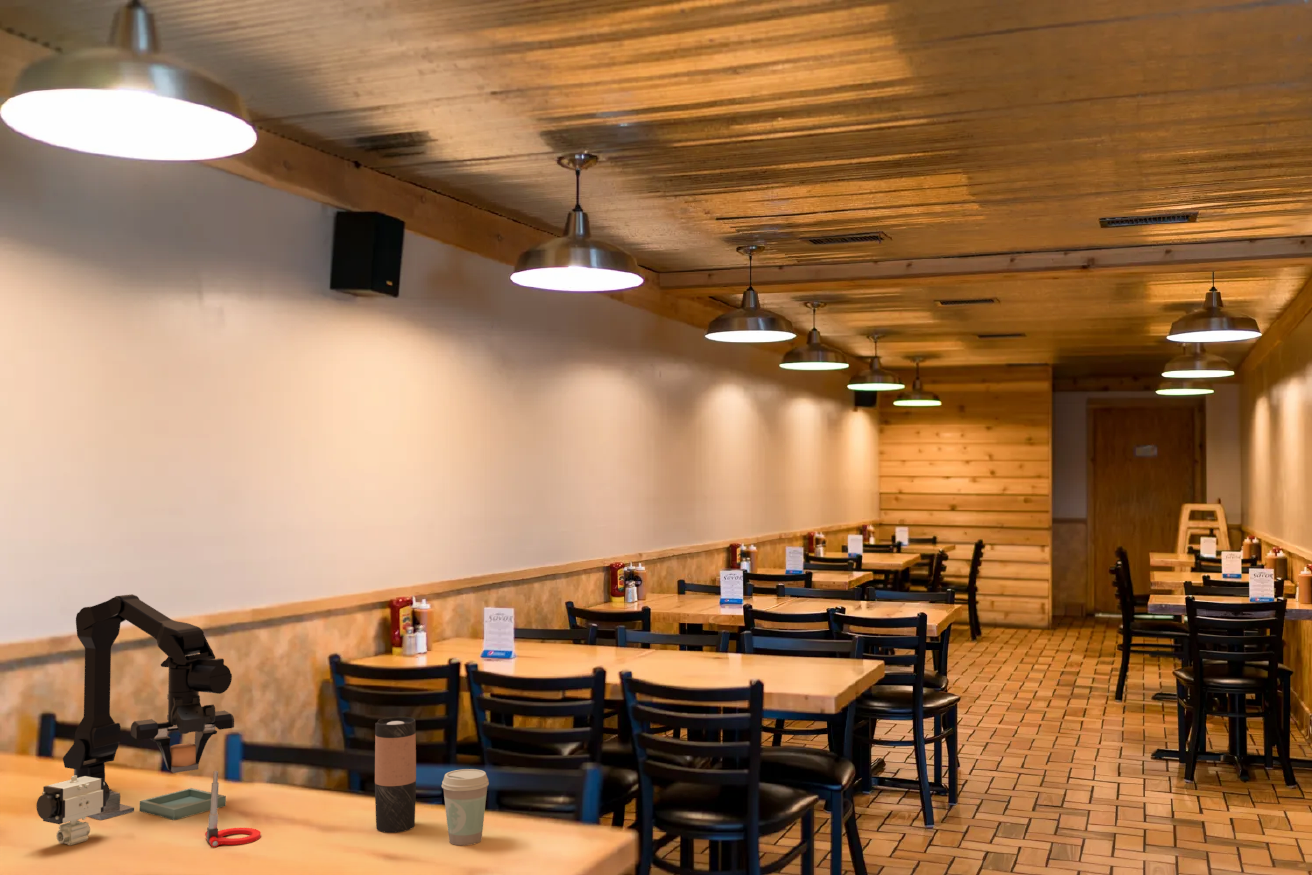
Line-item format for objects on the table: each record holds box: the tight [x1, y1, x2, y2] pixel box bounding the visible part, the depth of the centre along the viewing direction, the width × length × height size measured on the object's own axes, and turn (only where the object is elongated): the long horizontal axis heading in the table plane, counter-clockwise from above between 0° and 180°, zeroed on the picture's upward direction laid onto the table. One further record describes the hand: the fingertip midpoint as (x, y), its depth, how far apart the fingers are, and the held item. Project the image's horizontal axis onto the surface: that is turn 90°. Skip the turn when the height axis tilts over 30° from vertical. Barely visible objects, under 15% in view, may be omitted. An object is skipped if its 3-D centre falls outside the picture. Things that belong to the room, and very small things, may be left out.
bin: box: [139, 787, 227, 821], centre depth 231 cm, size 12×12×2 cm
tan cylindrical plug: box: [169, 743, 200, 774], centre depth 232 cm, size 5×5×4 cm
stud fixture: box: [87, 790, 135, 821], centre depth 228 cm, size 7×7×4 cm
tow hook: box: [204, 770, 262, 848], centre depth 211 cm, size 8×13×9 cm
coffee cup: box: [441, 768, 490, 846], centre depth 209 cm, size 8×9×12 cm
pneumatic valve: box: [36, 775, 110, 846], centre depth 210 cm, size 6×12×12 cm, turn 152°
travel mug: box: [374, 716, 417, 834], centre depth 218 cm, size 8×8×20 cm
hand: (182, 767), depth 231 cm, fingers closed on tan cylindrical plug, 5 cm apart
